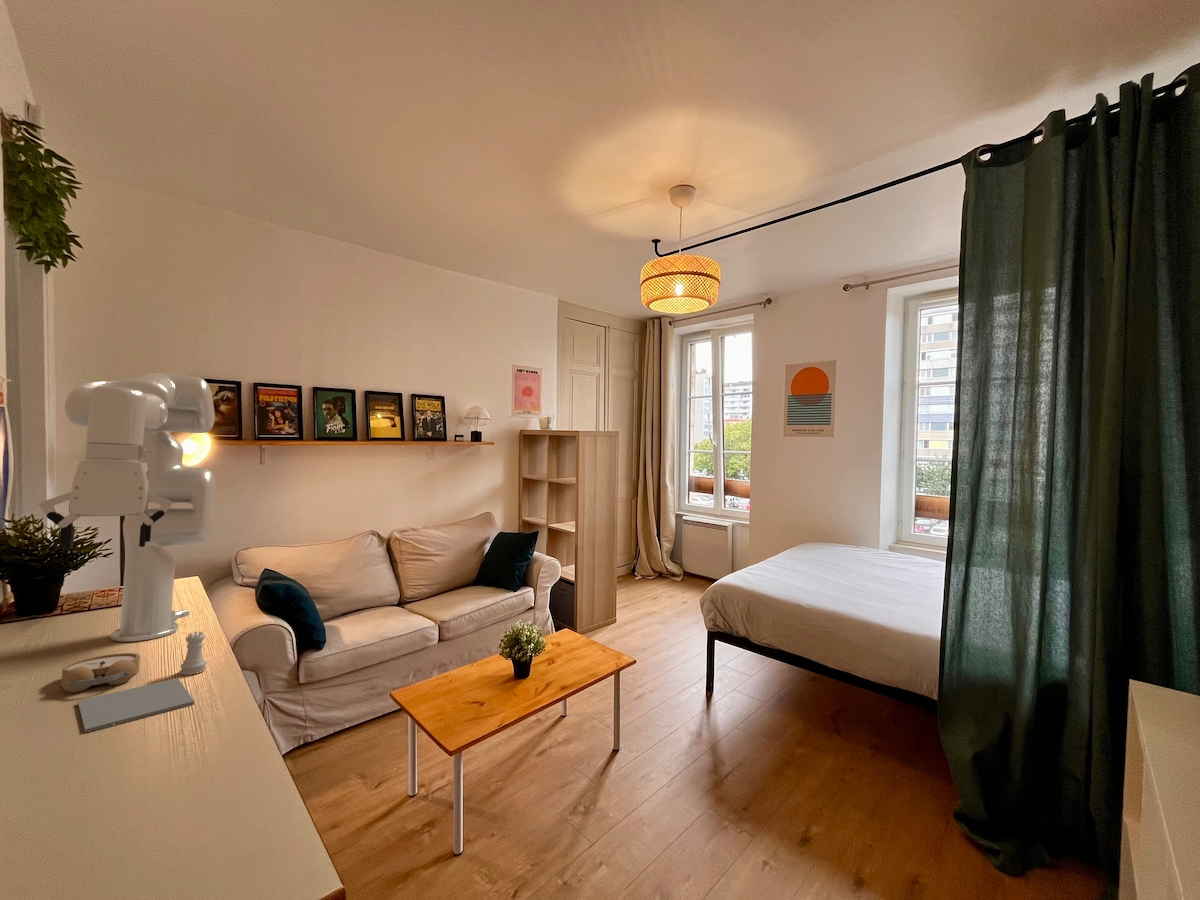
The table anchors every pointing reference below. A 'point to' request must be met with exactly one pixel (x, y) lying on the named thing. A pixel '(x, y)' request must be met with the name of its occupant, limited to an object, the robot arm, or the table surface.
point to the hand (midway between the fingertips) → (106, 547)
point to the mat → (133, 704)
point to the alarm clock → (99, 671)
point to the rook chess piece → (194, 655)
